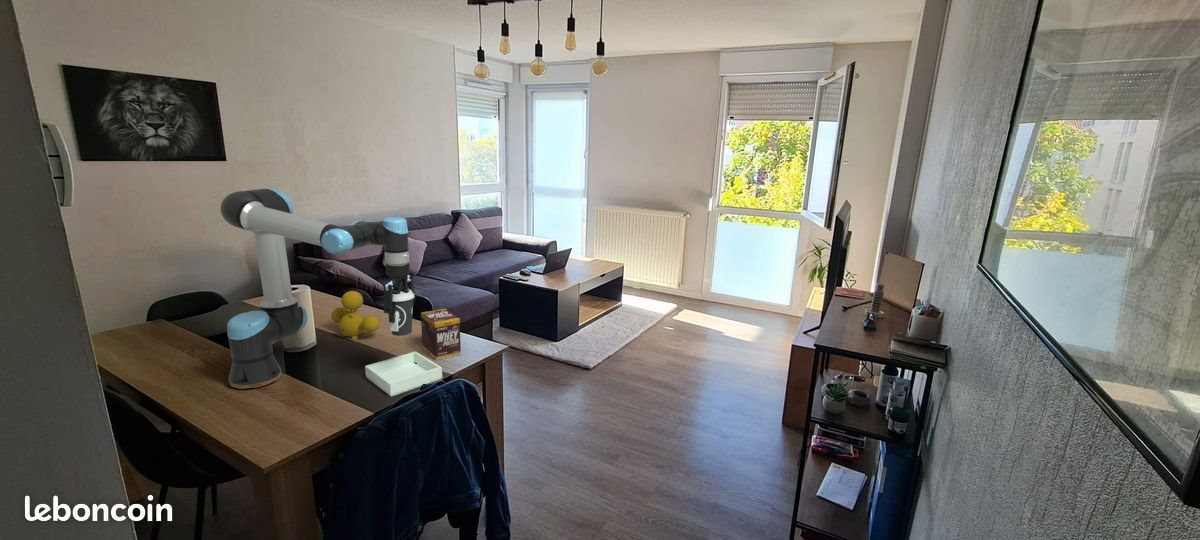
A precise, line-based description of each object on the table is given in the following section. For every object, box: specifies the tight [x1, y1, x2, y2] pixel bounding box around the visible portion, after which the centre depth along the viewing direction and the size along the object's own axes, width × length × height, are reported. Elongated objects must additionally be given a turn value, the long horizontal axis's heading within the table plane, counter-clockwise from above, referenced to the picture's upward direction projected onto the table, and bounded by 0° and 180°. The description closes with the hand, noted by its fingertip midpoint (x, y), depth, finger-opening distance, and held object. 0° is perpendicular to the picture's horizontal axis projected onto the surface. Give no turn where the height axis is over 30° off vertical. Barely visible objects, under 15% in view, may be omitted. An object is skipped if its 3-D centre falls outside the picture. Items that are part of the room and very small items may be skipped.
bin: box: [364, 351, 443, 397], centre depth 175 cm, size 19×19×4 cm
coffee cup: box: [391, 289, 416, 336], centre depth 169 cm, size 10×10×15 cm
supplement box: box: [420, 308, 462, 359], centre depth 197 cm, size 10×15×16 cm
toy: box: [330, 290, 381, 340], centre depth 207 cm, size 26×10×20 cm, turn 63°
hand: (401, 326), depth 170 cm, fingers closed on coffee cup, 7 cm apart
